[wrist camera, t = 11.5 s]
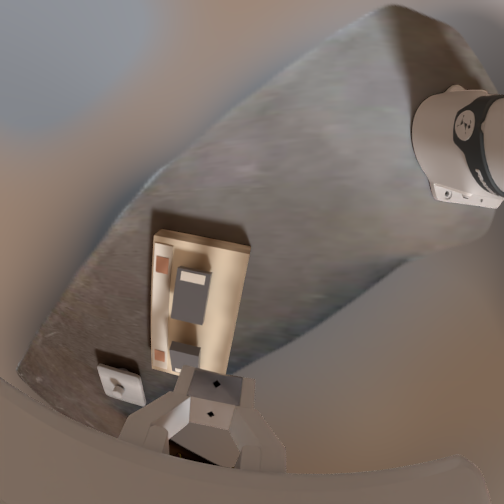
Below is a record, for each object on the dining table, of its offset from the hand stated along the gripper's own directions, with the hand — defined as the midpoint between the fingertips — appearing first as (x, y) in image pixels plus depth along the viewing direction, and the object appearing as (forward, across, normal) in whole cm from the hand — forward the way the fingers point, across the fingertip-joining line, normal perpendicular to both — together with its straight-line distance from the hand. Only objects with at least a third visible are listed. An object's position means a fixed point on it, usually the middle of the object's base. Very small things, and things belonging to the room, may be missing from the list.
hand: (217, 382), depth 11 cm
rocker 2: (+24, +6, +23) cm, 34 cm away
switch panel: (+29, +6, +17) cm, 34 cm away
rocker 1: (+24, +6, +11) cm, 27 cm away
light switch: (+30, +20, +39) cm, 53 cm away
